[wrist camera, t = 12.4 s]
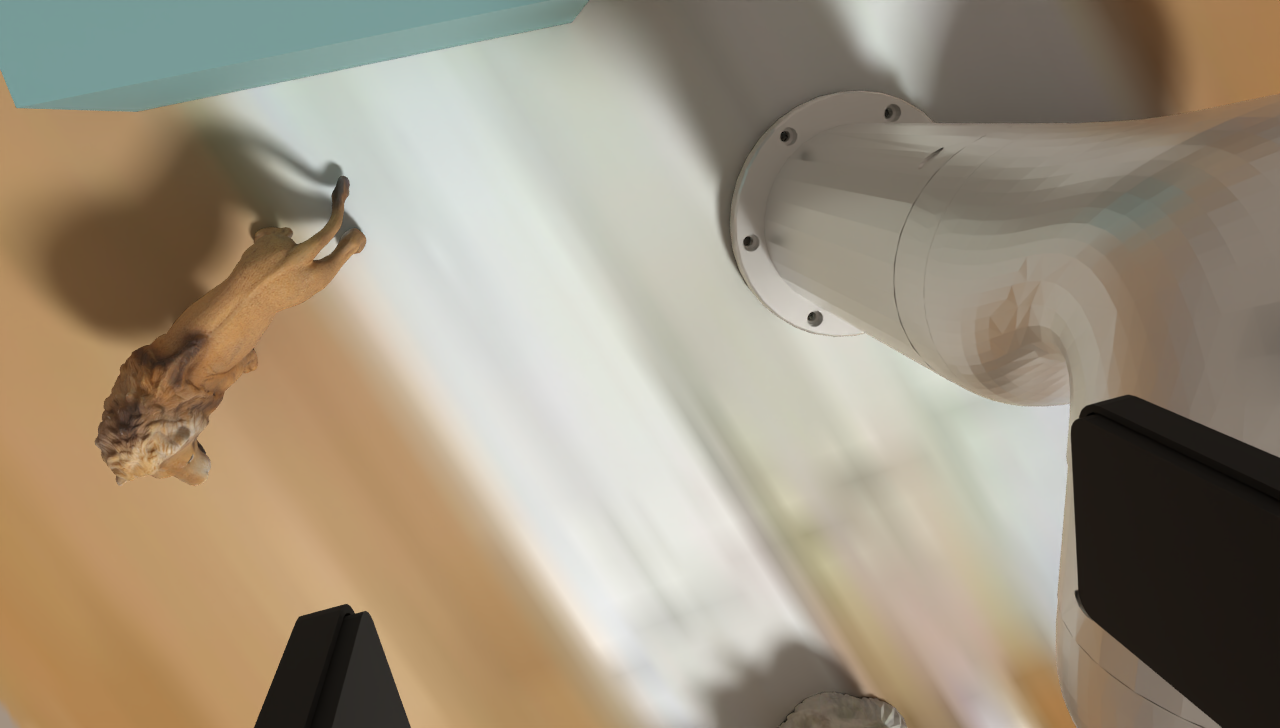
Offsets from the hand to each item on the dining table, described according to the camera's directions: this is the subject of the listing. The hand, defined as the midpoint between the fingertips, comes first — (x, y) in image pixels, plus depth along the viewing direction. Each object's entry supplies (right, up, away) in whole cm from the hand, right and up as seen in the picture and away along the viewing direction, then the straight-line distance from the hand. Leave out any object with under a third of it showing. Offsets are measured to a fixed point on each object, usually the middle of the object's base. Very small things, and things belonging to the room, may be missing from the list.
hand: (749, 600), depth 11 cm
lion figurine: (-20, +6, +30) cm, 37 cm away
